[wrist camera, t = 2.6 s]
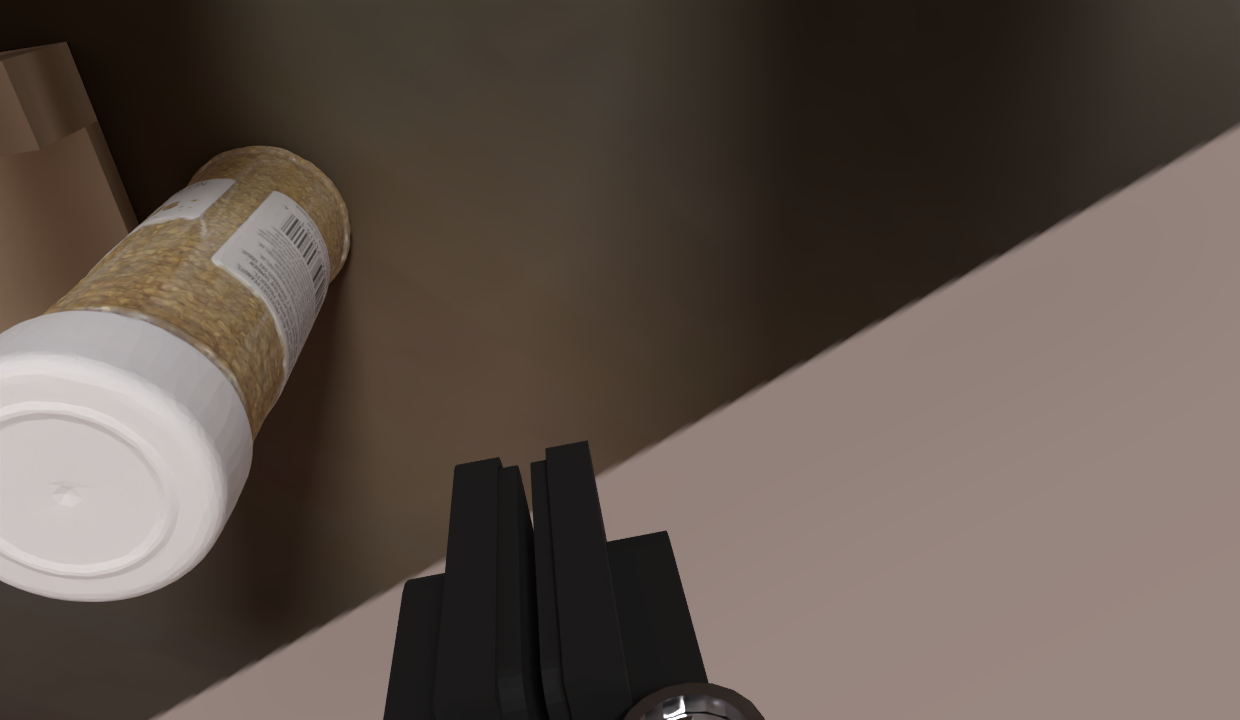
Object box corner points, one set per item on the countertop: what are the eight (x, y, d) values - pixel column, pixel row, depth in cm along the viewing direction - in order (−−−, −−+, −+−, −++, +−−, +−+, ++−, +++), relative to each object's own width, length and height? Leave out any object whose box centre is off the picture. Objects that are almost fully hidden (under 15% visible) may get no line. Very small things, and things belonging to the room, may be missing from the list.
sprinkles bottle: (182, 132, 25) (-134, 344, 13) (358, 153, 25) (219, 374, 13) (190, 291, 26) (-79, 608, 14) (353, 307, 27) (227, 621, 15)
